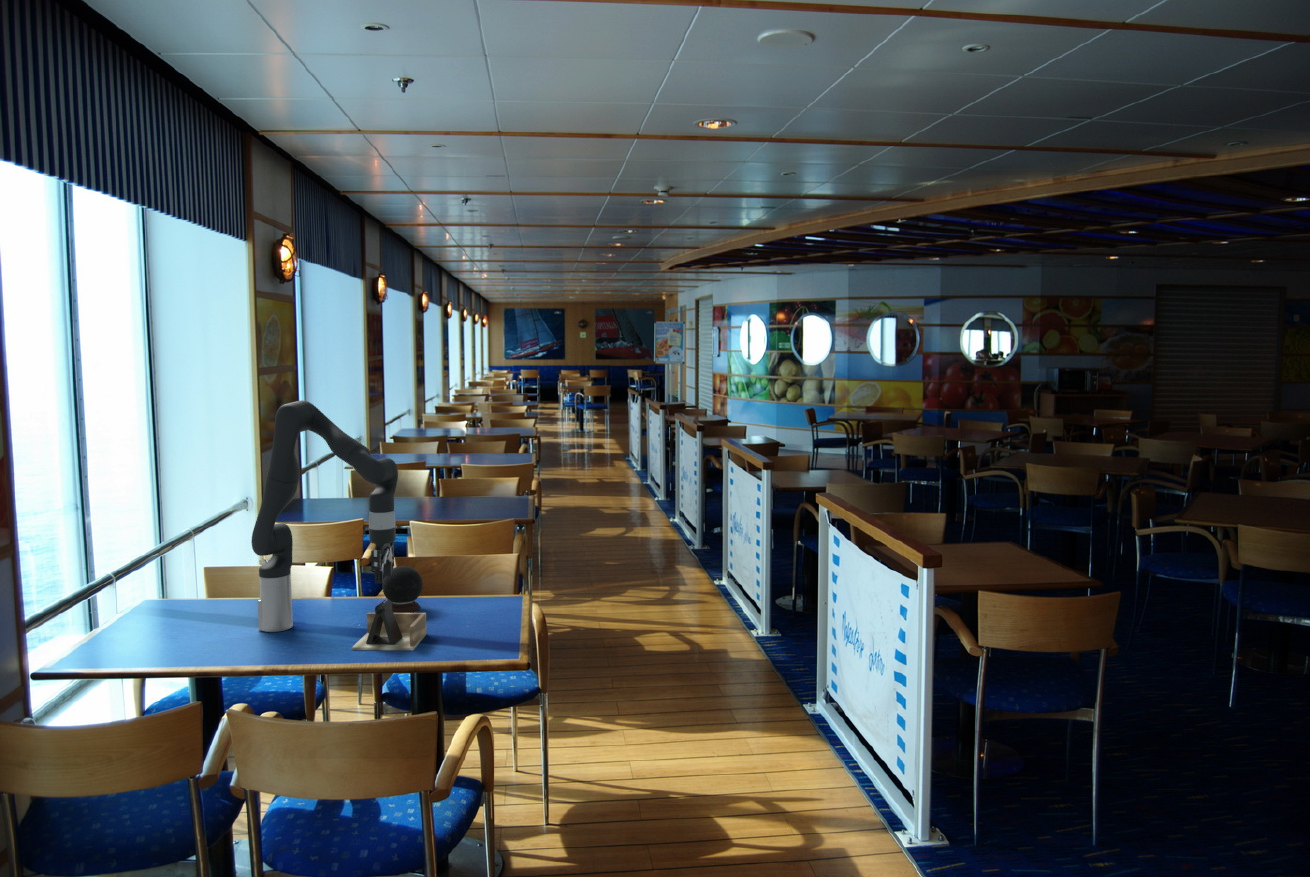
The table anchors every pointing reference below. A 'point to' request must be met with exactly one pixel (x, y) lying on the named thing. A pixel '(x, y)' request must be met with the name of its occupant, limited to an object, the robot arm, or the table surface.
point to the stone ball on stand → (403, 589)
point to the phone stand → (393, 632)
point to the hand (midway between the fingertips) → (383, 579)
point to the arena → (409, 627)
